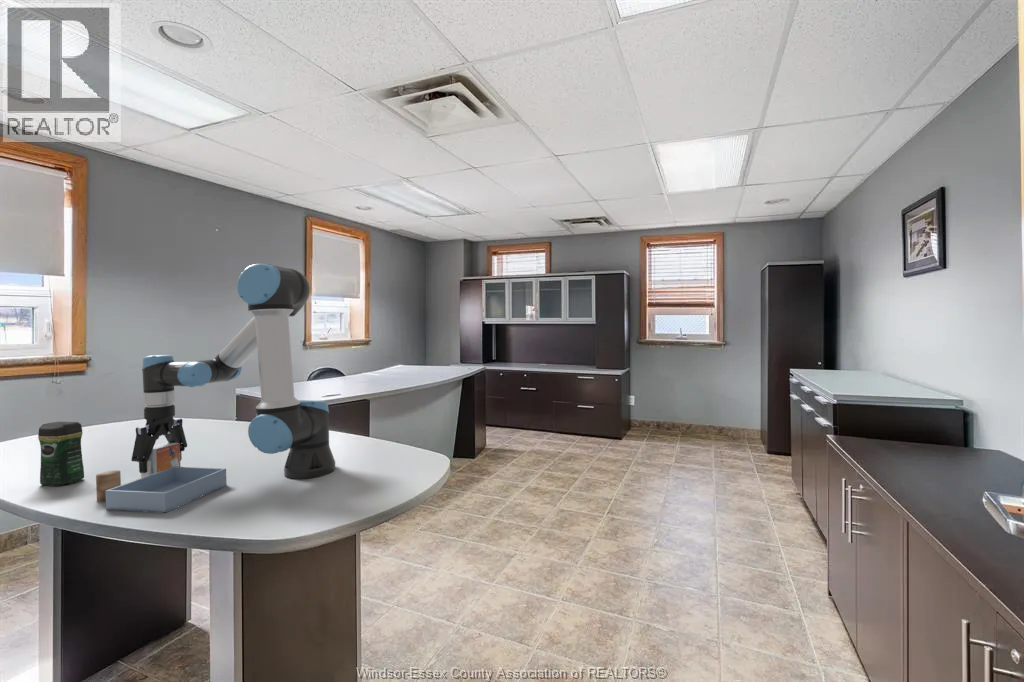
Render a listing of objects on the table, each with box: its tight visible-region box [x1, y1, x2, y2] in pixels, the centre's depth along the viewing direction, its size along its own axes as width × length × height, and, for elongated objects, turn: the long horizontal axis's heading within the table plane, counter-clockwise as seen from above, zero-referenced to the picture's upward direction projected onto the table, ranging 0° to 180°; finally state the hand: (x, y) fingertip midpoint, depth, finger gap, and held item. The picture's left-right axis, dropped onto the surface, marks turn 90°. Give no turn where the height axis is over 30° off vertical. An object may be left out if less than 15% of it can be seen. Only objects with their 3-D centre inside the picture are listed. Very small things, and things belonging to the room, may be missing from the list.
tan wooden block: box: [95, 469, 122, 502], centre depth 124 cm, size 5×5×7 cm
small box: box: [143, 441, 181, 475], centre depth 140 cm, size 8×6×10 cm
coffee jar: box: [37, 421, 85, 487], centre depth 137 cm, size 10×8×19 cm
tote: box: [105, 466, 228, 513], centre depth 125 cm, size 17×20×5 cm
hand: (161, 477), depth 140 cm, fingers open, 9 cm apart
